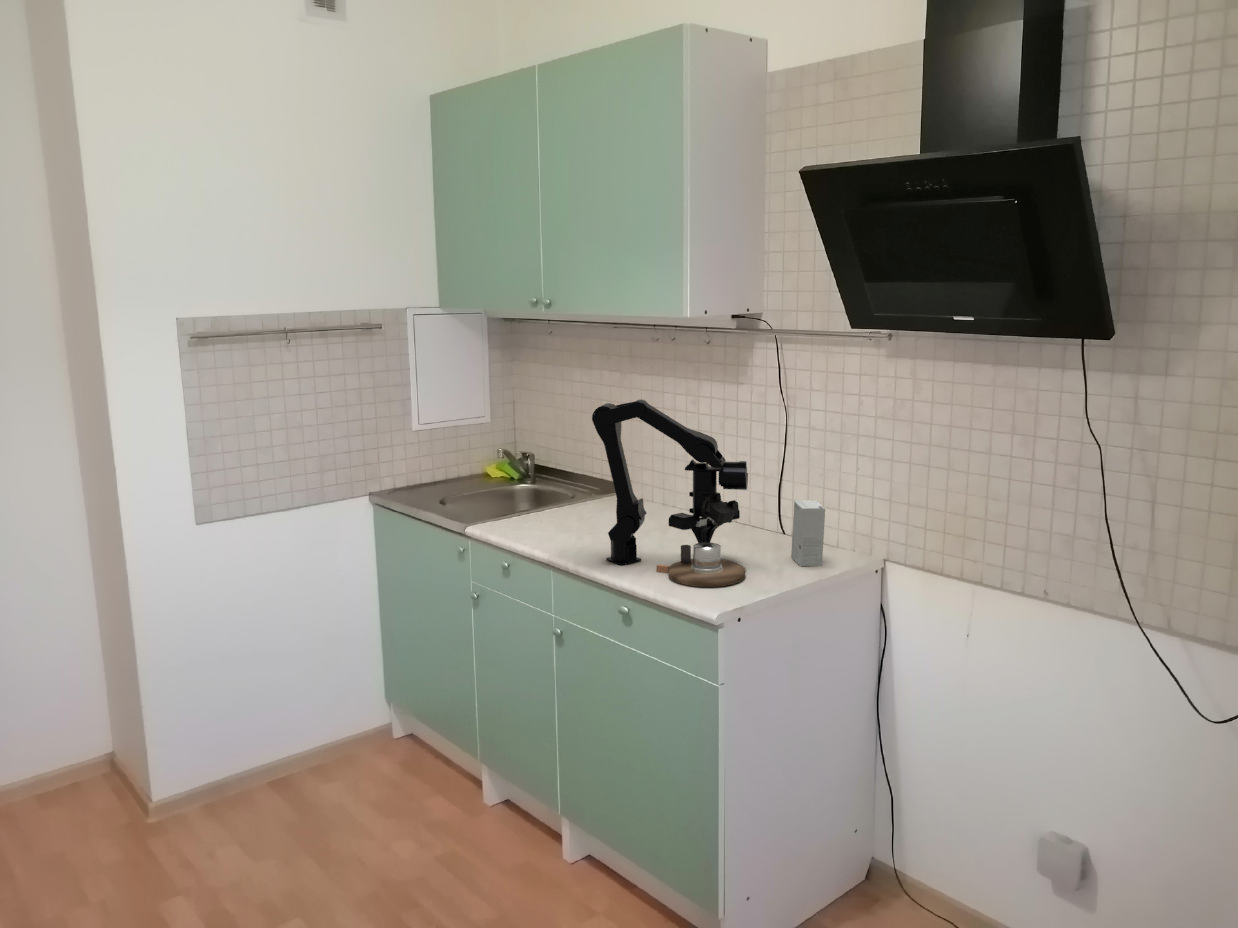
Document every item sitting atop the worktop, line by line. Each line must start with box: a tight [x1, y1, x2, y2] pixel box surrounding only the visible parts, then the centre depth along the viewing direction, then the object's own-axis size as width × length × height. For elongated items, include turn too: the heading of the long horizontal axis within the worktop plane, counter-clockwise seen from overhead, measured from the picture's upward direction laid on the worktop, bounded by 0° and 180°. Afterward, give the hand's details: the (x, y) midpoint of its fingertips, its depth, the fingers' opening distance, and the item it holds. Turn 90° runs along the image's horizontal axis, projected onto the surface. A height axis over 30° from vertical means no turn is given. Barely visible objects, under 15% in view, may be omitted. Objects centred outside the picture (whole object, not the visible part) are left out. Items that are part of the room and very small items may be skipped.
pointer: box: [655, 564, 671, 574], centre depth 234 cm, size 3×1×2 cm, turn 67°
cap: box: [692, 542, 722, 573], centre depth 229 cm, size 7×7×6 cm
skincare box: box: [790, 499, 826, 567], centre depth 239 cm, size 8×6×15 cm
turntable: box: [668, 544, 746, 588], centre depth 229 cm, size 18×18×6 cm
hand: (704, 550), depth 239 cm, fingers closed
